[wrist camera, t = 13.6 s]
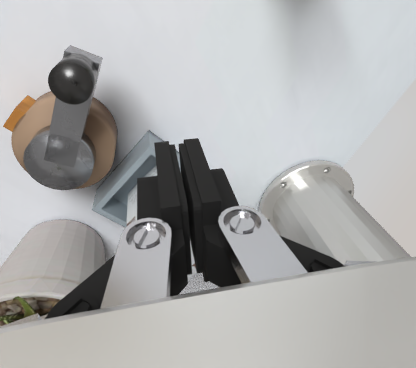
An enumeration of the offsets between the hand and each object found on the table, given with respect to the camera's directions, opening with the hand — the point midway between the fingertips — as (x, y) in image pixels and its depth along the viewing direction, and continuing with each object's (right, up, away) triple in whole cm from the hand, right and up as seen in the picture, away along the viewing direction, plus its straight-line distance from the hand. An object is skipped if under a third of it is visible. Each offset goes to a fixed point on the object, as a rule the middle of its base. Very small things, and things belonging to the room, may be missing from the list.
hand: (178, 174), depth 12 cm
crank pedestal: (-12, +5, +17) cm, 21 cm away
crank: (-10, +5, +12) cm, 16 cm away
